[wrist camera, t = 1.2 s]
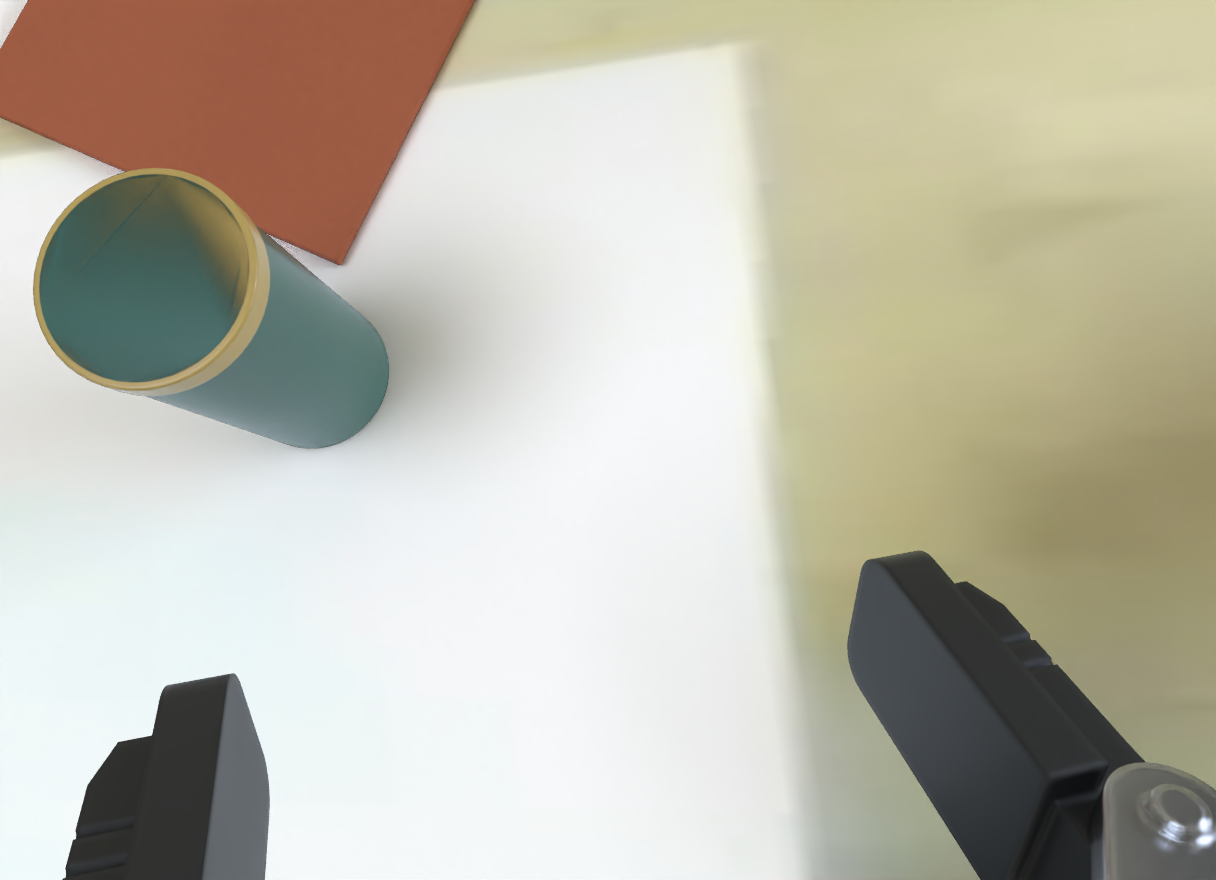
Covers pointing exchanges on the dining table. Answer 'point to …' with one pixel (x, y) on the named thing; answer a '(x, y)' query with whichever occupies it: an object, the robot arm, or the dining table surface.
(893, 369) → the dining table surface
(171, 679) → the dining table surface
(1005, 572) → the dining table surface
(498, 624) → the dining table surface
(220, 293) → the tea tin
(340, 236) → the mat
